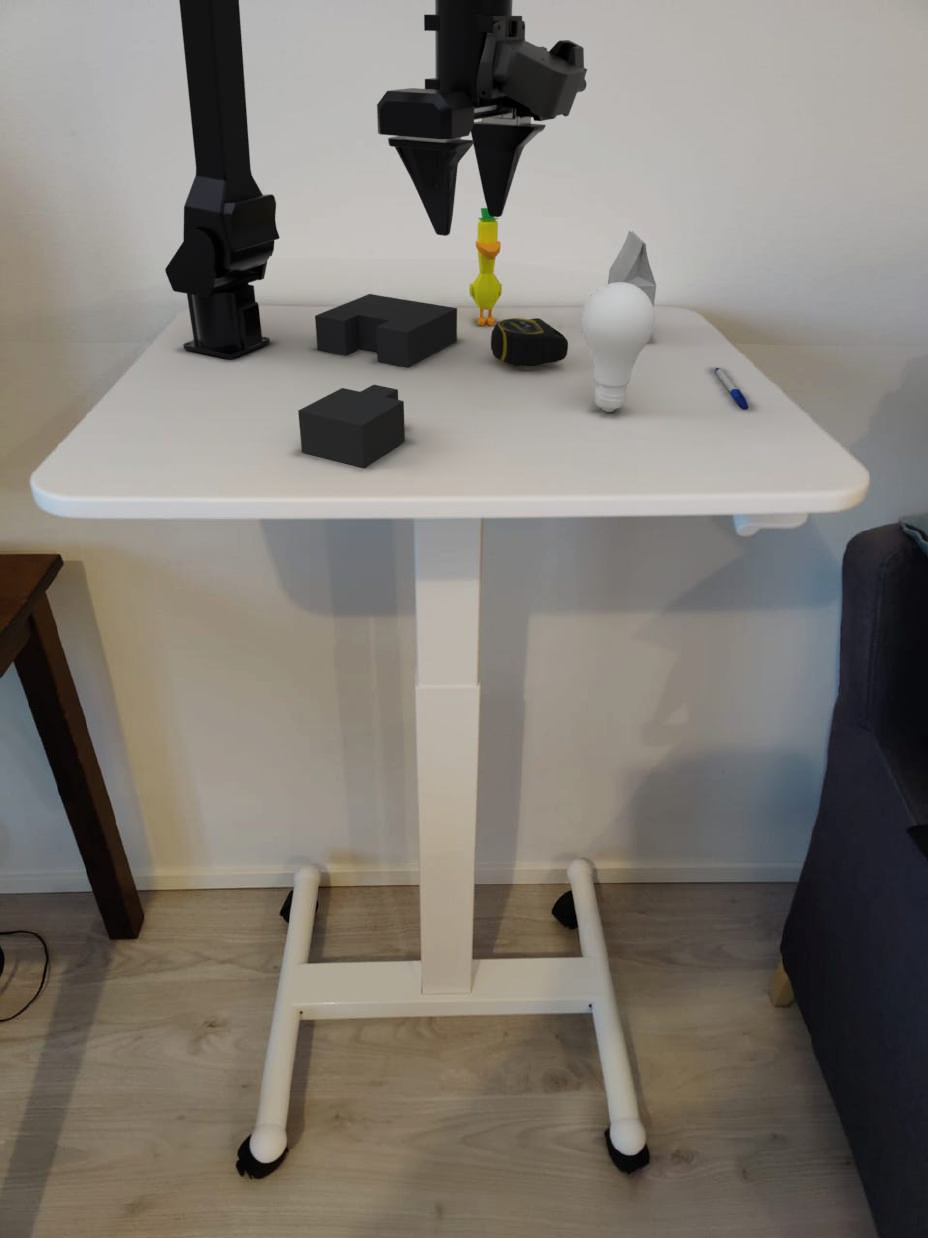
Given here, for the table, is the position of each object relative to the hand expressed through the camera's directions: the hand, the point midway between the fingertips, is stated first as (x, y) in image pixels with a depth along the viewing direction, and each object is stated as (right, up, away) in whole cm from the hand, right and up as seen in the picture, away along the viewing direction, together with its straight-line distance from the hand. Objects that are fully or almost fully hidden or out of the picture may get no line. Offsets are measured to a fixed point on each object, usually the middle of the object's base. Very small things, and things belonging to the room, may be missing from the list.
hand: (470, 225), depth 77 cm
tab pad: (-9, -19, -2) cm, 21 cm away
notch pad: (-8, -4, +20) cm, 22 cm away
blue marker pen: (+25, -11, +11) cm, 29 cm away
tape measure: (+6, -7, +17) cm, 19 cm away
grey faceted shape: (+17, -1, +25) cm, 31 cm away
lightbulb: (+12, -14, +5) cm, 20 cm away
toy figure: (+2, 0, +28) cm, 28 cm away
